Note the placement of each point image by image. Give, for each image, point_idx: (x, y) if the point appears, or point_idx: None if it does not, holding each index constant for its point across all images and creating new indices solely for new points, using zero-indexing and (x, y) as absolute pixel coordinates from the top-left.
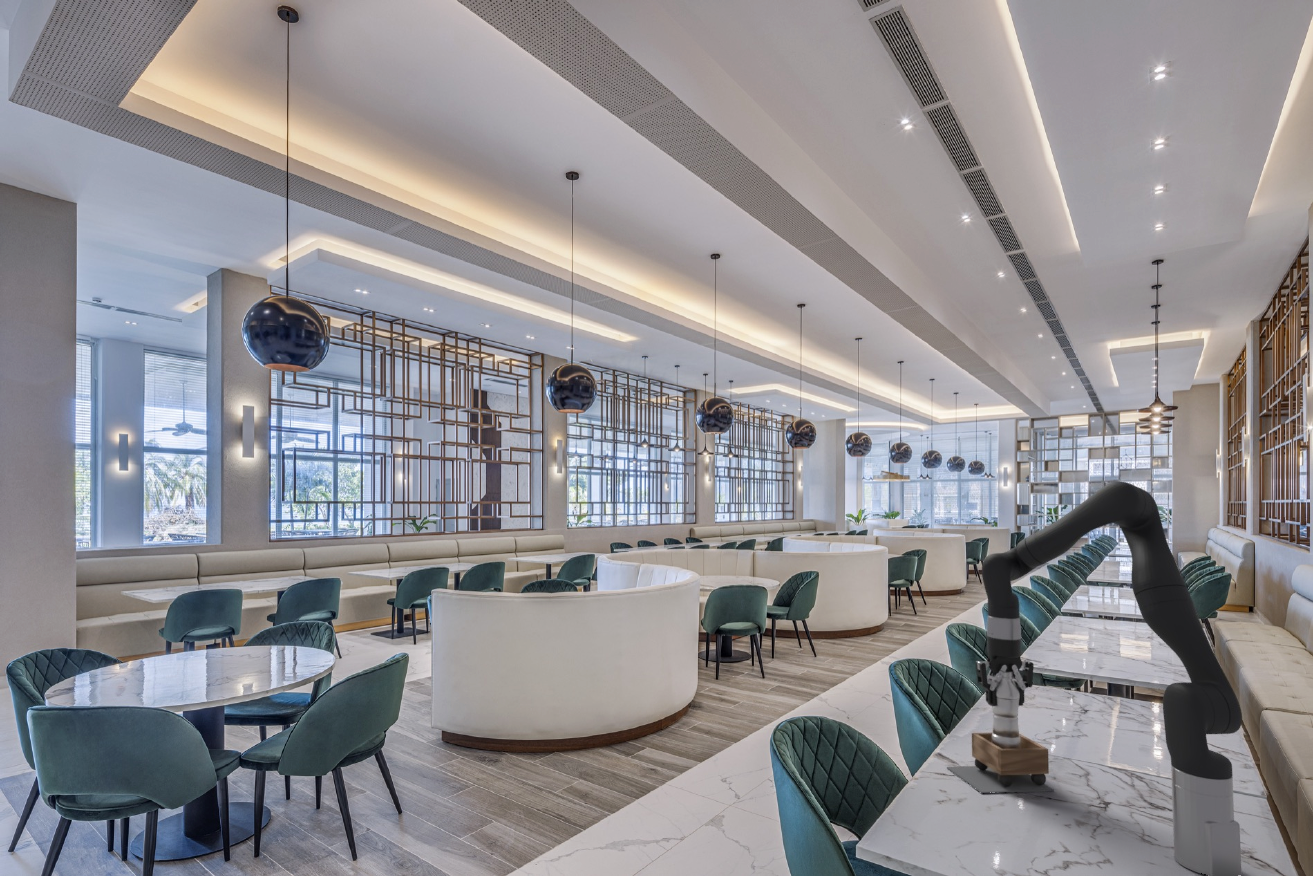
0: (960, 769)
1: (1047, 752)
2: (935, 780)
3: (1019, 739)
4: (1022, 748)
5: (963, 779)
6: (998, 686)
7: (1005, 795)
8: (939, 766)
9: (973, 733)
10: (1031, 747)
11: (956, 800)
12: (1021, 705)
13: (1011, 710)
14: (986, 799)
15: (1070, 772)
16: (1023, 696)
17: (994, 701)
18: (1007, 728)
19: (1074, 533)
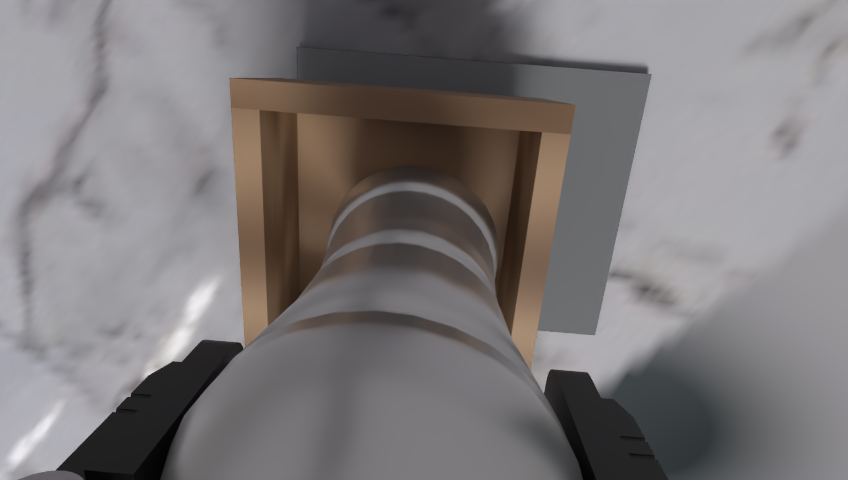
0: (558, 304)
1: (243, 78)
2: (730, 238)
3: (361, 194)
4: (398, 116)
5: (620, 214)
6: None
7: (548, 44)
8: (604, 356)
9: None
10: (274, 202)
11: (813, 29)
12: (221, 341)
13: (408, 268)
14: (668, 17)
15: (99, 222)
16: (124, 415)
17: (578, 399)
18: (448, 226)
19: None
